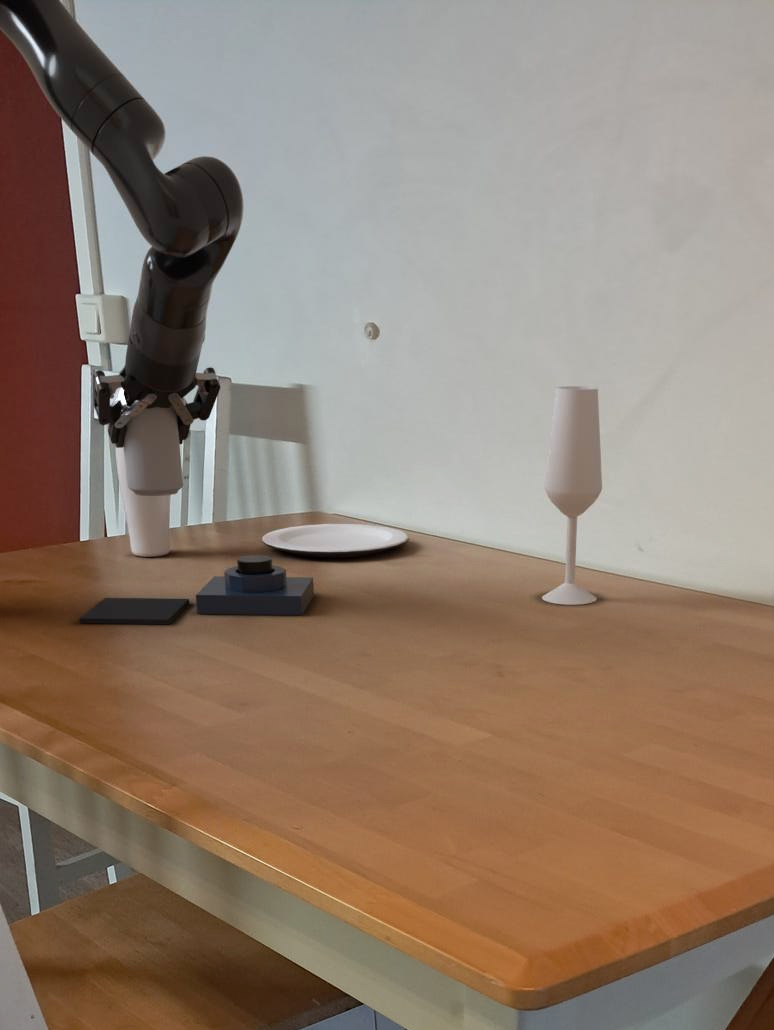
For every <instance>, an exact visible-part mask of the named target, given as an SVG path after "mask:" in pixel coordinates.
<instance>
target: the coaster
mask: <svg viewBox="0 0 774 1030" xmlns="http://www.w3.org/2000/svg"><path fill="white" fill-rule="evenodd" d="M189 605H190V598H157V597H154V598H152V597H151V598H150V597H149V598H148V597H104V598H103V599H102V600H100V601H99V602H98V603H96V605H94V606H92V607H91V608H90V609H89V610H88V611H87V612H85V613H84V614H83V615H82V616H80V617H79V620H78V621H79V624H90V625H91V624H94V625H95V624H99V625H103V624H105V625H171V623H172V622H174V620H176V618H177V617H178V616H179V615H180V614H181V613H182V612H183V611H184V610H185V609H186V608H187V607H188V606H189Z"/></svg>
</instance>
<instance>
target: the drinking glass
mask: <svg viewBox="0 0 774 1030" xmlns="http://www.w3.org/2000/svg"><path fill="white" fill-rule="evenodd" d="M114 450H115V451H114V452H115V463H116V471H117V472H116V473H117V479H118V482H119V489H120V494H121V499H122V505H123V509H124V515H125V519H126V520H125V521H126V525H127V531H128V537H129V545H130V551H131V553H132V554H133V555H134V556H136V557H142V558H155V557H163V556H166V555H168V554H169V553H170V552H171V538H170V495H166V496H141V495H136V494H135V493H134V492H133V491H132V490H130V489H129V488H128V484H127V475H126V465H125V456H124V446H123V448H116V446H115V445H114Z"/></svg>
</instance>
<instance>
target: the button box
mask: <svg viewBox="0 0 774 1030" xmlns="http://www.w3.org/2000/svg"><path fill="white" fill-rule="evenodd" d="M272 571H273V572H272V573H268V574H259V575H245V574H239V573H238V567H237V566H233V567H232V566H231V567H229V568H227V569H226V570H225V571H224V572H223V573H224V574H223V575H224V576H223V575H222V576H219V575H218V576H217V575H216V576H215V575H214V576H213V577H212V578H211V579H210V580H209V581H208V582H207V583H206V584H205V585H204V586H203V587H202V588H201V589H200V590H199V591H198V592H197V593H196V594H195V604H196V614H197V615H246V616H247V615H249V616H250V615H251V616H252V615H253V616H255V615H256V616H258V615H259V616H261V615H262V616H264V615H265V616H266V615H267V616H302V615H303V614H304V613H305V611H306V609H307V608H308V606H309V604H310V603H311V601H312V599H313V597H314V596H315V589H314V577H313V576H312V577H311V576H310V577H308V576H307V577H306V576H305V577H304V576H301V577H300V576H287V569H286V568H284V567H282V566H279V565H273V564H272Z"/></svg>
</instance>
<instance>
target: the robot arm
mask: <svg viewBox="0 0 774 1030" xmlns="http://www.w3.org/2000/svg"><path fill="white" fill-rule="evenodd" d="M0 30H1V32H2V33H3V34H4V35H5V36H6V37H7V38H8V39H9V41H11V43H12V44H13V45H14V47H15V48H16V49H17V50H18V52H19V53H20V55H21V56H22V57H23V59H24V60H25V62H26V64H27V66H28V67H29V69H30V71H31V73H32V75H33V76H34V78H35V81H36V82H37V84H38V86H39V88H40V89H41V91H42V93H43V94H44V96H45V98H46V99H47V101H48V103H49V104H50V105H51V107H52V108H53V110H54V111H55V112H56V114H57V115H58V116H59V118H61V120H62V121H63V123H65V125H66V126H67V127H68V129H70V131H72V133H73V134H74V135H75V136H76V137H77V139H78V140H79V141H80V142H81V143H82V144H83V145H84V146H85V147H86V148H87V149H88V151H89V152H90V153H91V154H92V155H93V156H94V158H96V159H97V161H99V163H100V164H101V165H102V166H103V168H104V169H105V171H106V172H107V174H108V176H109V178H110V180H111V181H112V183H113V186H114V187H115V189H116V191H117V193H118V194H119V196H120V198H121V199H122V201H123V203H124V205H125V207H126V208H127V210H128V212H129V214H130V216H131V218H132V220H133V222H134V224H135V226H136V228H137V229H138V231H139V232H140V234H141V236H142V238H144V240H145V241H146V242H147V243H148V244H149V245H150V246H151V247H149V249H148V251H147V253H146V255H145V257H144V258H143V259H144V260H143V263H142V267H141V274H140V280H139V287H138V293H137V296H136V299H135V303H134V305H133V309H132V315H131V321H130V327H129V334H128V340H127V347H126V351H125V352H126V353H125V363H124V367H122V369H121V370H120V371H119V374H115V375H106V374H105V372H104V371H103V370H101V369H99V370H96V371H94V372H93V373H92V380H93V381H92V384H93V386H92V389H93V408H94V410H95V412H96V416H97V420H98V423H99V425H101V426H106V425H108V426H107V433H108V436H109V440H110V442H111V444H112V445H114V447H115V446H116V448H123V445H124V439H125V433H126V424H127V423H128V421H129V420H130V419H131V418H132V417H133V418H137V417H138V415H139V414H140V413H141V412H142V411H143V410H144V409H150V408H155V407H160V408H170V406H172V405H173V407H174V409H175V410H176V412H177V421H178V432H179V443H180V445H183V442H184V441H186V440H187V439H188V438H189V433H190V429H191V425H192V424H194V420H197V419H199V420H200V421H207V420H208V419H209V418H210V417H211V414H212V411H213V408H214V407H215V404H216V401H217V398H218V395H219V393H220V390H221V384H220V381H219V378H218V376H217V373H216V370H215V368H214V367H211V366H210V367H206V368H205V369H204V370H203V372H197V371H198V368H199V363H200V362H199V361H200V357H201V352H202V348H203V345H204V342H205V339H206V329H207V315H208V310H209V305H210V300H211V296H212V291H213V285H214V282H215V280H216V278H217V277H218V274H219V273H220V271H221V270H222V268H223V266H224V265H225V262H226V261H227V258H228V256H229V254H230V252H231V250H232V248H233V247H234V244H235V242H236V241H237V238H238V236H239V233H240V231H241V226H242V223H243V218H244V210H245V209H244V207H245V205H244V195H243V191H242V187H241V183H240V182H239V180H238V177H237V176H236V174H235V173H234V171H233V170H232V168H230V167H229V165H228V164H227V163H225V162H223V161H222V160H220V159H218V158H217V157H213V156H207V155H204V156H203V155H201V156H197V157H194V158H191V159H188V160H187V161H185V162H183V163H182V164H180V165H177V166H176V167H173V168H172V169H170V170H168V171H166V172H162V171H161V170H160V169H159V168H158V167H157V165H156V164H155V162H154V161H155V160H156V158H157V157H158V156H159V154H160V153H161V151H162V149H163V147H164V144H165V141H166V136H167V135H166V133H167V132H166V128H165V125H164V122H163V120H162V119H161V117H160V115H159V114H158V113H157V111H155V109H154V107H152V106H151V104H149V102H148V101H147V100H146V98H144V97H143V95H142V94H141V93H140V92H139V90H138V89H136V87H135V86H134V85H133V84H132V83H131V82H130V81H129V79H127V77H126V75H124V74H123V73H122V71H121V70H120V69H119V68H118V67H117V66H116V65H115V64H114V63H113V61H111V60H110V58H109V57H108V56H107V55H106V54H105V53H104V51H103V50H102V49H101V47H99V46H98V44H97V43H96V42H95V41H94V40H93V39H92V38H91V37H90V36H89V35H88V33H87V32H86V30H84V29H83V28H82V26H81V25H80V24H79V22H78V21H77V20H76V19H75V17H73V15H72V14H71V12H69V10H68V9H67V8H66V6H65V5H64V4H63V2H62V0H0ZM121 387H122V388H121ZM196 387H197V389H196V392H195V395H194V398H193V401H191V402H189V403H188V401H187V400H186V396H187V395H188V394H189V393H190V392H192V391H193V390H194V389H195V388H196ZM118 389H119V390H118ZM117 390H118V393H117V394H118V395H117V398H116V399H115V400H113V399H114V398H115V394H116V392H117ZM111 400H113V402H112V403H111ZM122 409H123V411H121V410H122Z"/></svg>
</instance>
